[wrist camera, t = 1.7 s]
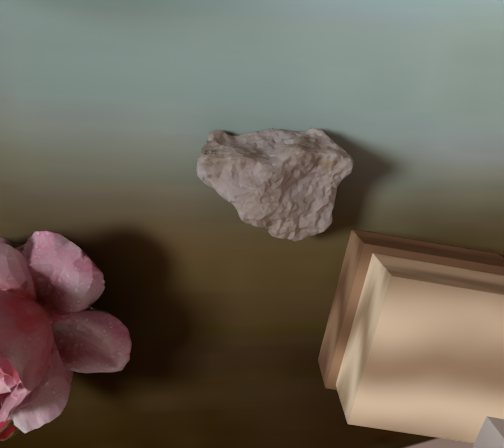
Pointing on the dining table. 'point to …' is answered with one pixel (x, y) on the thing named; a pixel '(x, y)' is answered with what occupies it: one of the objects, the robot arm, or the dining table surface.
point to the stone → (277, 178)
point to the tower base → (355, 276)
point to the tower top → (425, 350)
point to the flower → (50, 329)
